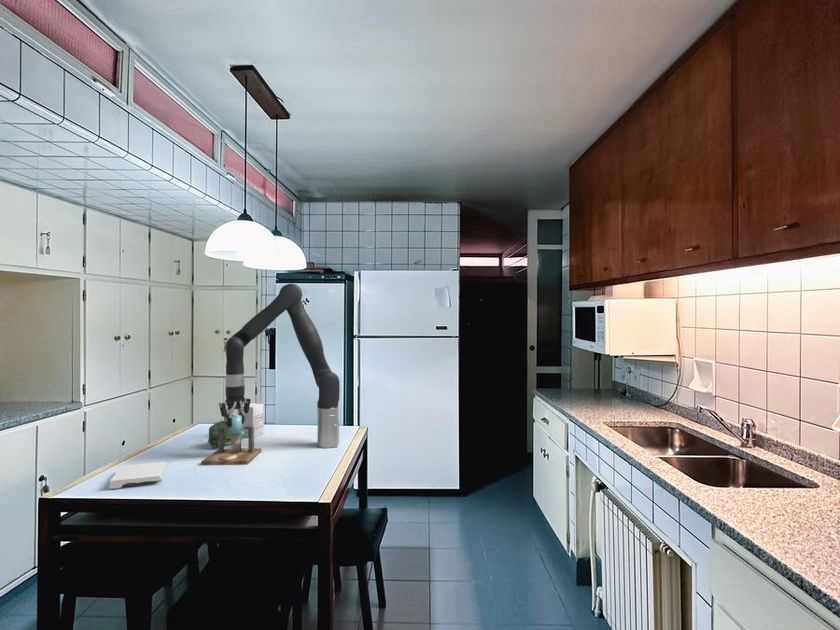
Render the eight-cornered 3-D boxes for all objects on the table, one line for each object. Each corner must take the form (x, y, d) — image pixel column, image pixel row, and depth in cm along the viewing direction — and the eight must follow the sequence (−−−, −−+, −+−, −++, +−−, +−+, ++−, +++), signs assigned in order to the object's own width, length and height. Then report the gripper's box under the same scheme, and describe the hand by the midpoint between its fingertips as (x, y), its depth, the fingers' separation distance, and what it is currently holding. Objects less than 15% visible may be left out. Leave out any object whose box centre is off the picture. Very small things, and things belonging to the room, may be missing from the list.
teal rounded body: (247, 432, 205) (247, 415, 205) (237, 435, 201) (237, 417, 201) (233, 430, 210) (233, 413, 210) (223, 432, 205) (223, 415, 205)
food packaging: (122, 474, 184) (109, 491, 165) (122, 465, 184) (109, 481, 165) (166, 470, 189) (159, 485, 170) (166, 461, 189) (159, 476, 171)
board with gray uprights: (261, 451, 210) (261, 423, 210) (247, 464, 192) (247, 434, 192) (219, 452, 210) (219, 424, 210) (201, 465, 192) (200, 434, 192)
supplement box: (237, 437, 236) (236, 406, 236) (248, 432, 245) (248, 402, 245) (253, 438, 234) (252, 406, 234) (264, 433, 242) (264, 403, 242)
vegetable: (244, 443, 216) (211, 432, 209) (231, 460, 221) (199, 449, 215) (249, 422, 226) (217, 411, 219) (236, 438, 231) (205, 428, 224)
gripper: (225, 387, 197) (225, 429, 197) (255, 383, 209) (255, 423, 209) (214, 386, 201) (214, 427, 201) (244, 382, 213) (244, 421, 213)
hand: (235, 425), depth 205 cm, fingers closed on teal rounded body, 5 cm apart
